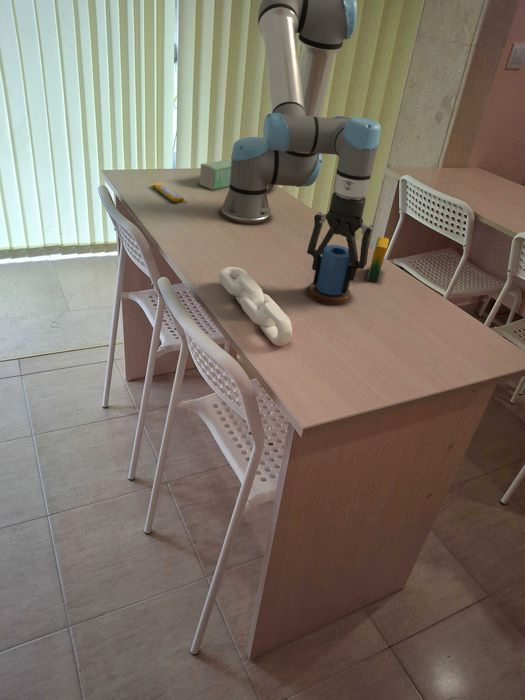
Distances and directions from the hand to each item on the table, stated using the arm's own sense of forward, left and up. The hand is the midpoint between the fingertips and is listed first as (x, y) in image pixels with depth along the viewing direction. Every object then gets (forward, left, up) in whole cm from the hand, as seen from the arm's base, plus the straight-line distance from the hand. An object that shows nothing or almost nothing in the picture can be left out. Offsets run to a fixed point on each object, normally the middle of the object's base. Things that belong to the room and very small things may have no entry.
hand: (330, 286), depth 132 cm
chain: (+10, -20, -3) cm, 22 cm away
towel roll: (0, 0, -1) cm, 1 cm away
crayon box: (-12, +15, -3) cm, 19 cm away
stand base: (0, 0, -2) cm, 2 cm away
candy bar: (-64, -42, -3) cm, 77 cm away
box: (-79, -24, -3) cm, 83 cm away
